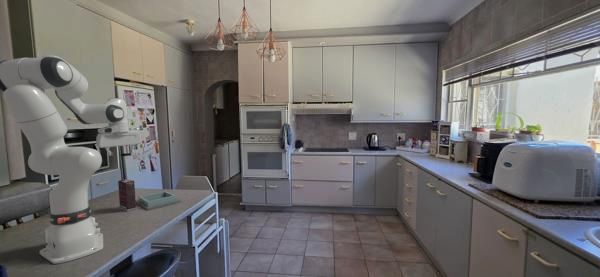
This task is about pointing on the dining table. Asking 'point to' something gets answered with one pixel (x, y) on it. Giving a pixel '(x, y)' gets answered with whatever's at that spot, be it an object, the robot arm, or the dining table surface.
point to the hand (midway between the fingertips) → (121, 154)
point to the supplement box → (127, 195)
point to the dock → (157, 200)
